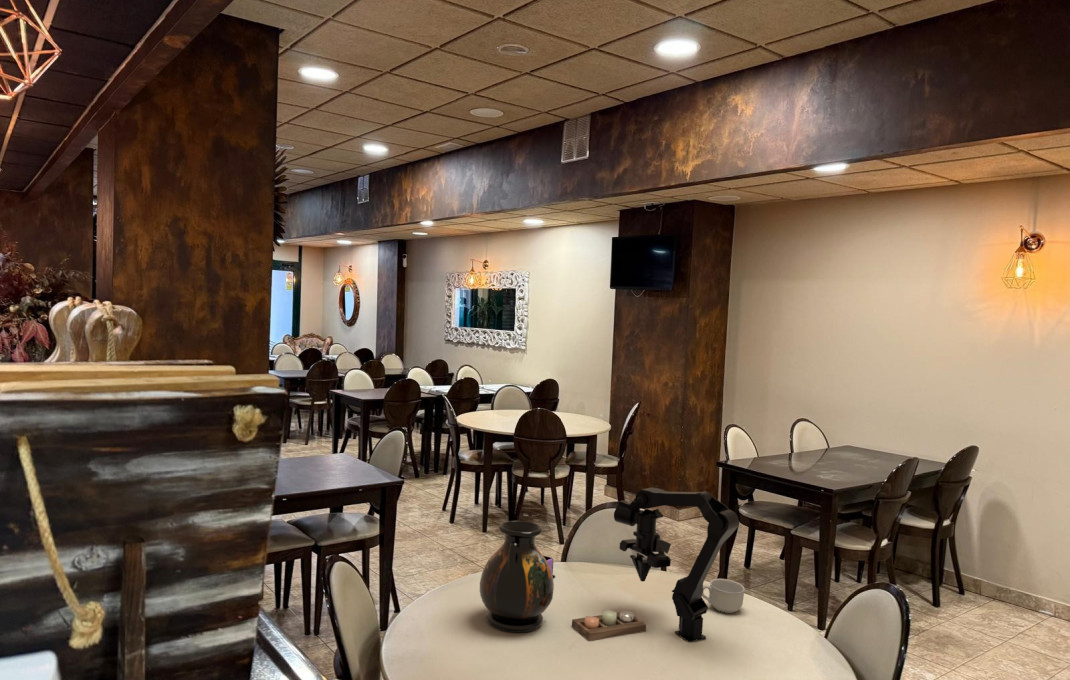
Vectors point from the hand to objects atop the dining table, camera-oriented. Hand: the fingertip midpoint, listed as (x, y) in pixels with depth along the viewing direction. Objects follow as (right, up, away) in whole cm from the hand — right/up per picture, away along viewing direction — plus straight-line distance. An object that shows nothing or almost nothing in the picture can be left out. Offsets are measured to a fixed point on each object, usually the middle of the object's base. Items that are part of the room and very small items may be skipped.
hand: (642, 581), depth 214 cm
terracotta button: (-17, -10, -13) cm, 23 cm away
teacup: (+26, -13, +11) cm, 31 cm away
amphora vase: (-39, -9, -9) cm, 41 cm away
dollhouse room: (-33, -9, +29) cm, 45 cm away
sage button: (-11, -9, -10) cm, 17 cm away
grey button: (-6, -10, -7) cm, 14 cm away
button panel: (-11, -10, -10) cm, 18 cm away
